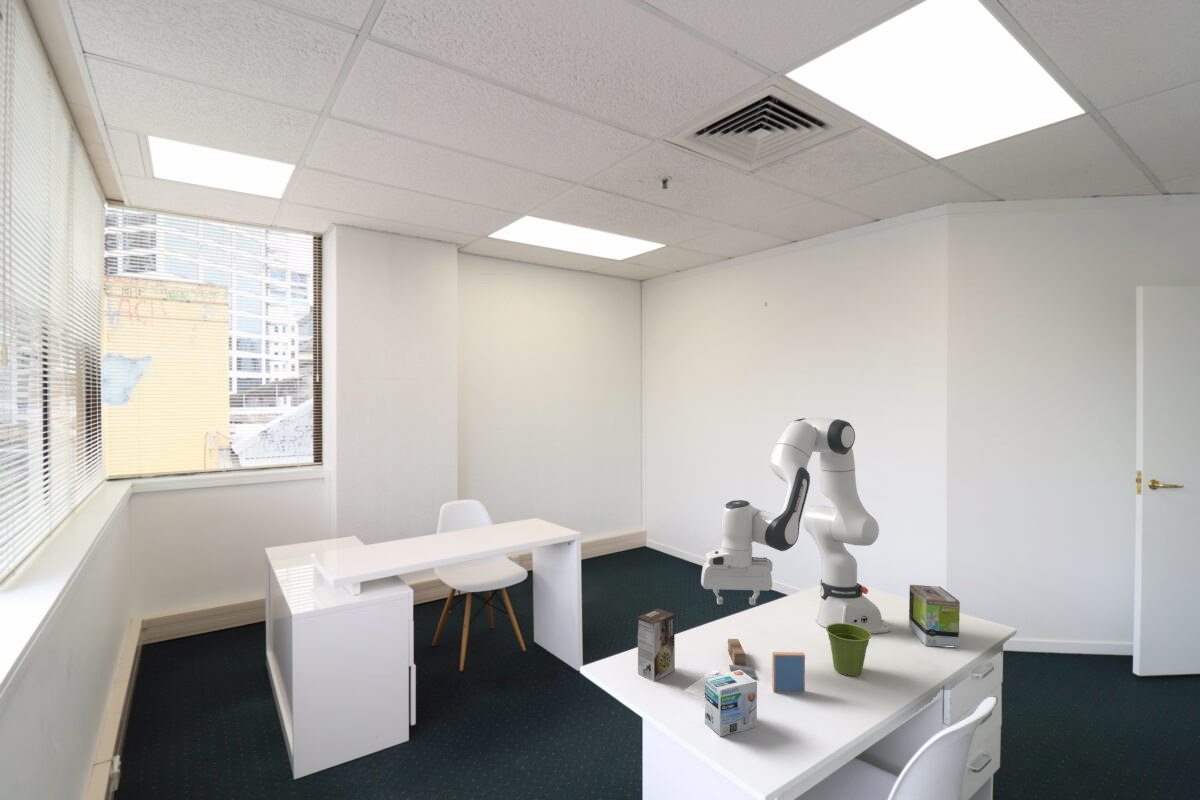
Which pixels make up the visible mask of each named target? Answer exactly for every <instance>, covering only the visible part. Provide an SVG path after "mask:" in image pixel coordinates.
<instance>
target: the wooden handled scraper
mask: <svg viewBox="0 0 1200 800" xmlns="http://www.w3.org/2000/svg"><path fill="white" fill-rule="evenodd" d="M727 641H728V642H727V652H729V653H728V655H729V657H731V658H730V659H731V662H732V664H729V665H728V667H730V668H729V670H730V672H733V671H737V670H741V671H743V672H744V673H745V674H747V675H748V676H750V677H751V678H752V679H756V680H757V676H756V674H755V671H754V670H753V667H752V666H751V664H746V653H745V651H744V648H743V646H742V644H741V642H740V639H739V638H727Z"/></svg>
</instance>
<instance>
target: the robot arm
mask: <svg viewBox="0 0 1200 800" xmlns="http://www.w3.org/2000/svg"><path fill="white" fill-rule="evenodd" d="M855 441H856V432H855V429H854V427H853V425H852V424H851V423H850V422H848V421H846V420H843V419H832V418H828V417H827V418H825V417H819V418H818V417H817V418H816V417H815V418H798V419H795V420H793V421H792V422H790V423H789V424H788V425H787V427H786V428H785V429H784V430H783V431H782V433H781V434H780V437H779V438H778V440H777V441H776V443H775V446H774V447H773V450H772V452H771V454H770V457H769V465H770V468H771V470H772V472H773V473H774V475H776V476H777V477H778V478H779V479H780V480H782V481H783V482H785V483H786V484H787V485H788V486H787V491H786V492H787V493H786V496H785V500H784V503H783V505H782V506H783V507H782V509H781V511H780V512H778V513H774V512H770V511H765V510H762V509H759V508H756V507H754V506H753V505H751V503H750V502H749V501H747V500H744V499H743V500H742V499H739V500H738V499H736V500H731V501H729V502H727V503H726V504H725V505H724V507H723V511H722V515H721V516H722V517H721V535H722V542H721V544H720V545H721V548H718V549H715V550H714V549H713V550H711V551H708V552H707V553H706V554H705V560H706V561H705V562H704V563H703V565H702V570H701V577H700V578H701V579H700V584H701V586H702V587H703V589H705V590H713V591H712V592H713V593H714V595H715V597H716V603H717V605H723V604H724V598H723V597H722V596H720V595H719V593H720V590H733V591H753V594H752V597H751V596H750V597H749V598H748V599H749V601H748V603H749V605H750V606H756V600H757V598H758V597H759V596H760V594H761V593H760V592H761V591H770V590H772V588H773V579H772V571H773V561H772V560H771V559H769V558H768V557H757V556H753V545H752V544H753V543H757V544H760V545H764V546H768V547H769V548H772V549H774V550H777V551H780V552H786V551H788V550H790V549H791V548H793V546H794V545H795V544H796V543H797V541H798V539H799V533H800V527H801V526H800V524H801V519H802V522H803V527H804V529H805V531H806V532H808V534H809V536H811V537H812V539H813V540H814V542H815V544H816V546H817V549H818V552H819V555H820V559H821V579H820V585H819V593H820V605H819V610H818V614H817V618H816V623H817V624H818V625H820V626H822V627H823V628H826V627H827V626H828V625H830V624H833V623H847V624H853V625H857V626H860V627H862V628H864V629H866V630H868V631H869V632H870V633H871V634H882V633H889V632H890V625H889V624H888V623H887V621H885V620H884V619H883V618H882V613H881V611H880V609H879V607H878V606H877V605H876V604H875V603H874V602H873V601H871V600H870V599H869V598H867V596H865V595H867V594H868V593H869V589H868V588H867V587H866V586H865V585H862V584H860V583H858V563H857V560H856V557H854V556H853V555H852V554H851V553H850V552H849V551H848V550H847V548H846V546H845V545H844V544H847V545H852V546H857V547H858V546H860V547H861V546H863V547H865V546H866V547H867V546H872V545H873V544H874V543H875V542H876V541H877V539H878V537H879V534H880V527H879V524H878V522H877V519H875V518H874V517H873V516H872V515H871V514H870V513H869V512H868V511H867V509H866V508H865V506H864V505H863V503H862V501H861V498H860V496H859V493H858V489H857V481H856V462H855V455H854V451H853V446H854V443H855ZM814 452H816V453H819V481H820V491H821V493H822V494H823V495H824V496H825V497H826V498H827V499H828V500H830V502H831V503H832V505H833V507H831V506H826V505H814V506H810V507H808V508H807V510H806V511H805V512H804V510H805V509H804V508H805V504H806V501H807V496H808V493H809V488H810V483H811V476H810V473H809V471H808V464H809V462H810V460H811V457H812V454H813V453H814ZM803 512H804V514H803ZM802 515H803V518H802Z"/></svg>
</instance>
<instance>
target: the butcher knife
mask: <svg viewBox="0 0 1200 800" xmlns="http://www.w3.org/2000/svg"><path fill="white" fill-rule="evenodd" d="M718 673H719V674H720V671H718V670H715V669H714V670H712V671H711V672H709V673H708V674H706V675H704V676H702V678H700V679H698V680H696V681H695V682H694V683H693V684H690V685H689V686H688V687H686V688H684V690H683V693H685V692H686V694H688V695H691V696H693V697H696V698H697V699H699V698H700V697H701V696H703V695H705V678H706V677H711V676H714V675H716V674H717V675H719V674H718Z"/></svg>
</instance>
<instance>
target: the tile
mask: <svg viewBox="0 0 1200 800" xmlns="http://www.w3.org/2000/svg"><path fill="white" fill-rule="evenodd" d="M771 657H772V658H771V660H772V661H771V662H772V664H771V665H772V668H771V669H772V670H771V671H772V673H771V675H772V676H771V677H772V681H771V682H772V683H771V685H772V687H771V688H772V692H773V694H774V693H775V692H777V693H778V692H779V693H778V694H805V693H806V654H805V653H804V652H801V651H799V652H798V651H797V652H796V651H792V652H791V651H772V656H771ZM788 692H789V693H788ZM777 693H775V694H777Z"/></svg>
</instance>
